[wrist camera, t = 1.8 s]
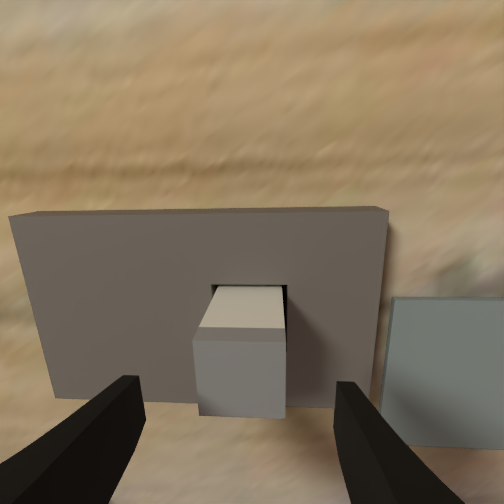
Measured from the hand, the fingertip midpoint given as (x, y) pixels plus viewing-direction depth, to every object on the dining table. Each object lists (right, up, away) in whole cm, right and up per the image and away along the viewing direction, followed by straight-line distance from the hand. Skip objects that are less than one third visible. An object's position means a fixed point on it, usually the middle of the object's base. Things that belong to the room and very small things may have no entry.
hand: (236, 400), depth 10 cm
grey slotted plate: (-2, +2, +8) cm, 9 cm away
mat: (+15, -3, +8) cm, 17 cm away
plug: (+1, +2, +8) cm, 8 cm away
